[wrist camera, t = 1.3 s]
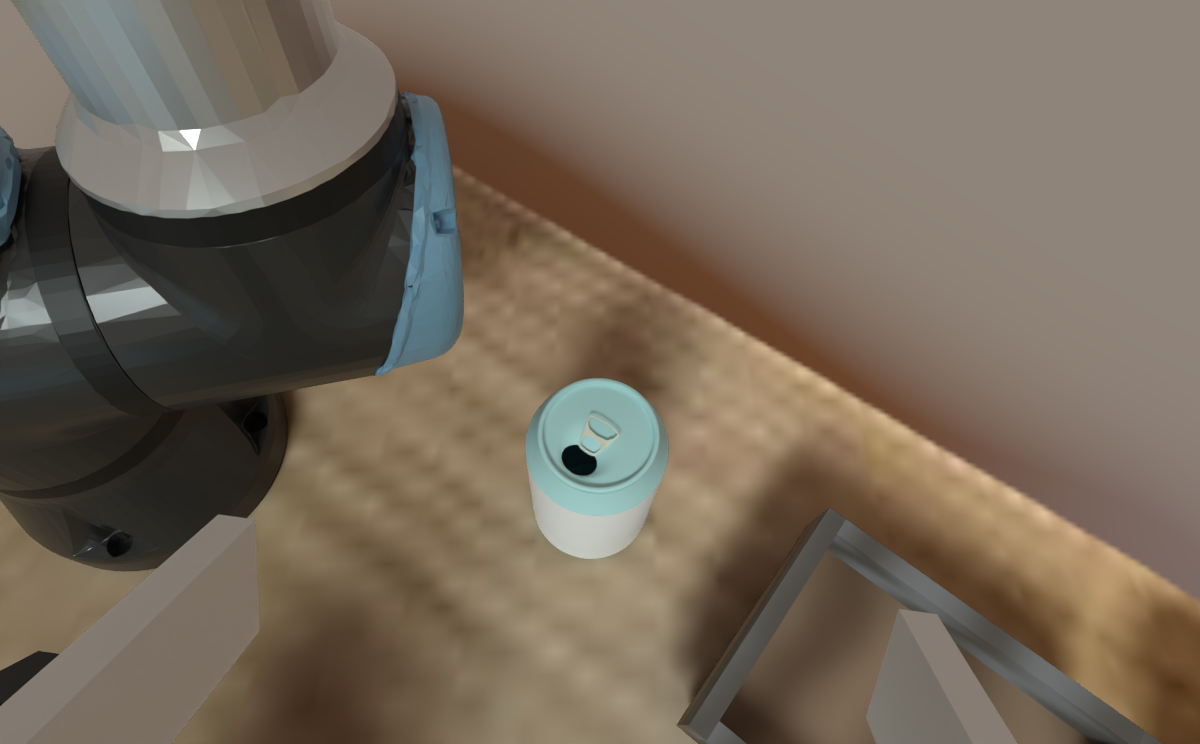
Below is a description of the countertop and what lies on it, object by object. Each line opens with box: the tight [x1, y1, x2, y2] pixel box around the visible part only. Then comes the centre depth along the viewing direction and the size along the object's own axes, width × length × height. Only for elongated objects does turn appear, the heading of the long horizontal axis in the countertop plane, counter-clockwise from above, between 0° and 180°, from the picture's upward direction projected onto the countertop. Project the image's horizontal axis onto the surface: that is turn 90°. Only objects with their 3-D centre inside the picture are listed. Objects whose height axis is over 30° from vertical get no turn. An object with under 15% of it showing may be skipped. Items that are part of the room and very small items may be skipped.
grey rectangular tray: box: [677, 507, 1162, 744], centre depth 36 cm, size 18×13×7 cm
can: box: [525, 378, 669, 559], centre depth 38 cm, size 7×7×12 cm
